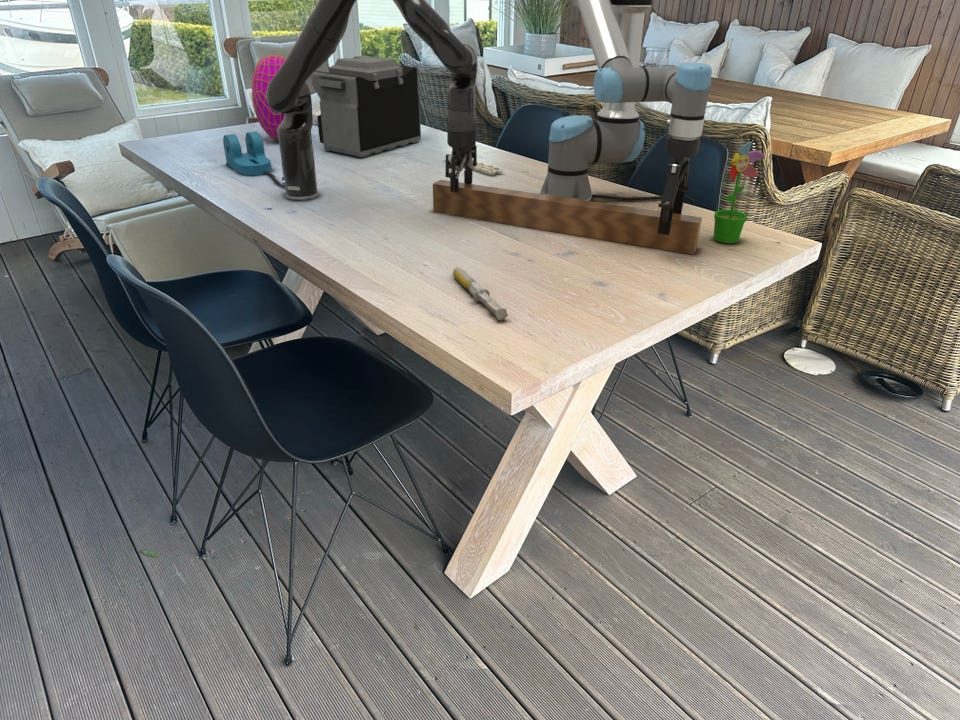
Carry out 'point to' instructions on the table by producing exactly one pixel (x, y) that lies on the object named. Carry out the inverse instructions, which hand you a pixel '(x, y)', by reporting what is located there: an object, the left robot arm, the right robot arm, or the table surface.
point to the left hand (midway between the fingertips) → (461, 187)
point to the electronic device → (367, 105)
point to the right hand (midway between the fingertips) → (669, 225)
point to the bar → (567, 216)
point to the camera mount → (246, 154)
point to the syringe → (479, 293)
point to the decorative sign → (487, 169)
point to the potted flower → (731, 220)
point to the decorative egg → (260, 83)
